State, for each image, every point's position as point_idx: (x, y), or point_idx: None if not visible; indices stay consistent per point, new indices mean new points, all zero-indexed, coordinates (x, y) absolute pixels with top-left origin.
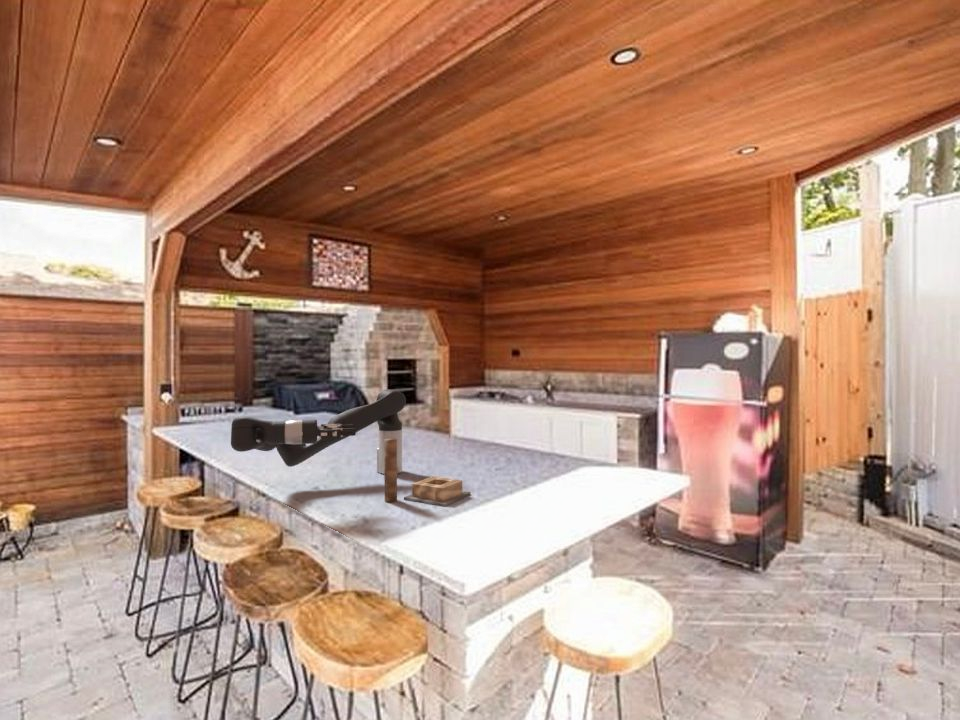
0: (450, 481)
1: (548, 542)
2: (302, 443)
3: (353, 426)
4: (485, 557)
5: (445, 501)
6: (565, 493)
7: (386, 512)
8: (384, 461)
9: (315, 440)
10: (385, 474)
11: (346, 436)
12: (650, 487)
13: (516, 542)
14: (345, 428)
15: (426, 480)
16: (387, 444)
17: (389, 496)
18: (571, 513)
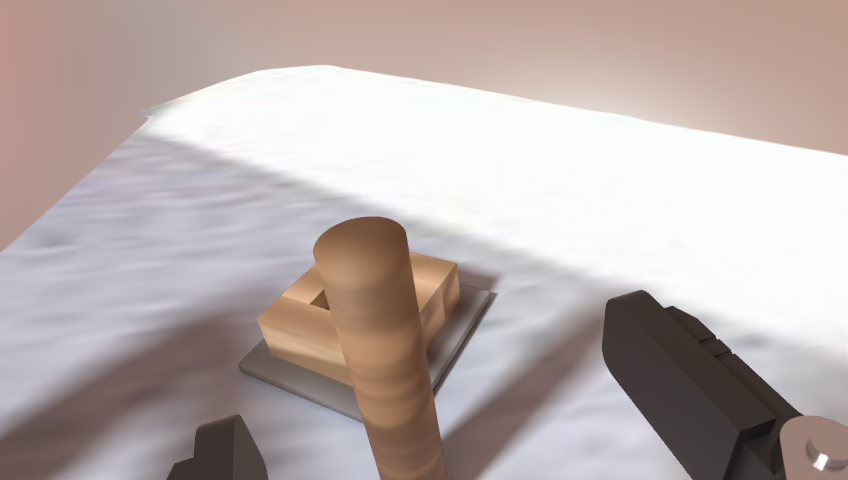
0: None
1: (700, 134)
2: None
3: (241, 429)
4: None
5: (460, 294)
6: (360, 137)
7: (602, 474)
8: (397, 384)
9: None
10: (422, 428)
11: None
12: (337, 78)
13: (730, 163)
14: (710, 397)
15: (326, 326)
16: (408, 270)
17: (446, 477)
18: (506, 125)
